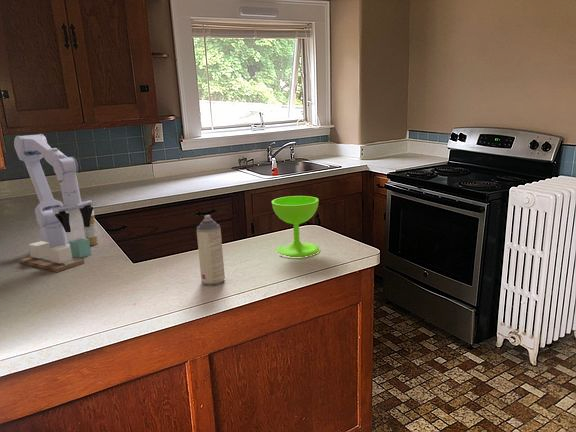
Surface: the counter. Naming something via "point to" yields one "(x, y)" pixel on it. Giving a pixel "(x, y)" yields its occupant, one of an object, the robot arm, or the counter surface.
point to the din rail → (48, 258)
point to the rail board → (50, 264)
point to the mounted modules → (50, 251)
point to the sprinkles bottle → (91, 231)
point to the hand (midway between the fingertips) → (77, 229)
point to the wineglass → (296, 222)
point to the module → (80, 247)
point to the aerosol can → (210, 252)
